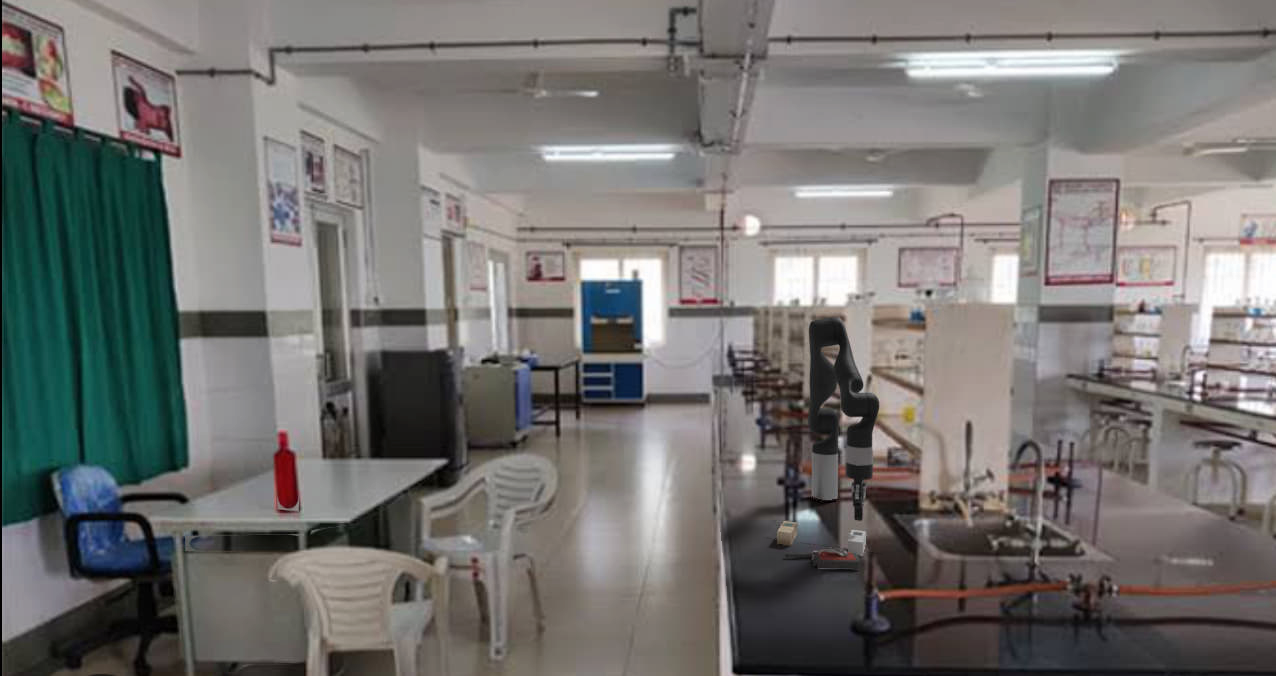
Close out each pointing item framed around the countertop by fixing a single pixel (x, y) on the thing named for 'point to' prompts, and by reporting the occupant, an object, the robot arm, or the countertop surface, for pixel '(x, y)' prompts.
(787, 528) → the beech block
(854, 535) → the grey block
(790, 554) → the walkie-talkie
